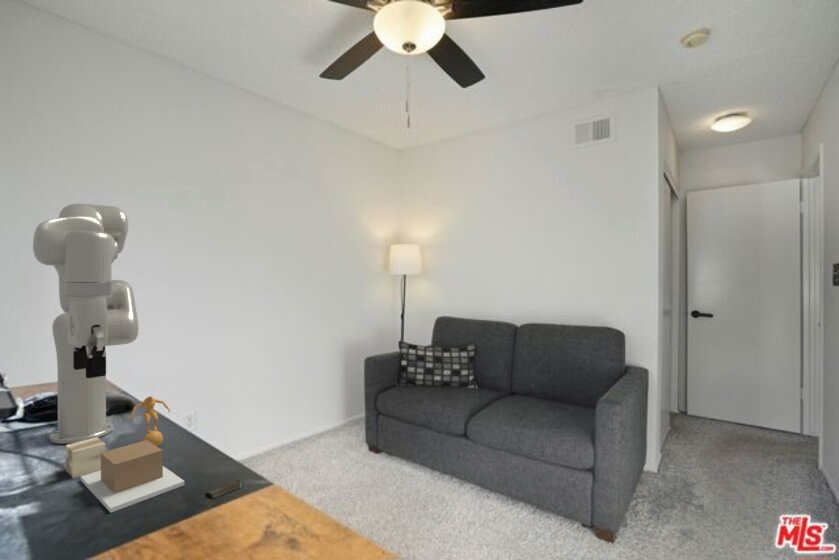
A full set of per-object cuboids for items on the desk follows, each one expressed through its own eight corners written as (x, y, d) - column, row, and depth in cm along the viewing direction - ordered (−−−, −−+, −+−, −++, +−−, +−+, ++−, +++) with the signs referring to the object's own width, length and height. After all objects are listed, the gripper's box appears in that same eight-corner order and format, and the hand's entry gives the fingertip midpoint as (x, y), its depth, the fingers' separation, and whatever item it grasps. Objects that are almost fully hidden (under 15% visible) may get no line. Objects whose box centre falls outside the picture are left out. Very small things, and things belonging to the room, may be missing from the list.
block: (205, 501, 78) (203, 491, 78) (235, 485, 83) (233, 476, 83) (215, 504, 76) (213, 495, 76) (245, 488, 81) (243, 479, 81)
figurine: (135, 456, 94) (134, 403, 93) (127, 448, 98) (126, 397, 97) (175, 444, 100) (175, 395, 100) (166, 438, 104) (166, 390, 104)
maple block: (66, 470, 87) (65, 445, 87) (97, 461, 91) (97, 437, 91) (73, 478, 83) (72, 452, 83) (105, 469, 88) (105, 443, 88)
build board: (80, 480, 83) (80, 449, 82) (148, 459, 92) (148, 431, 92) (110, 512, 72) (110, 477, 71) (184, 485, 81) (184, 453, 81)
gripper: (56, 289, 89) (56, 368, 89) (76, 293, 78) (77, 384, 78) (99, 288, 94) (99, 362, 95) (124, 292, 83) (124, 376, 84)
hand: (89, 372), depth 87 cm, fingers open, 9 cm apart
